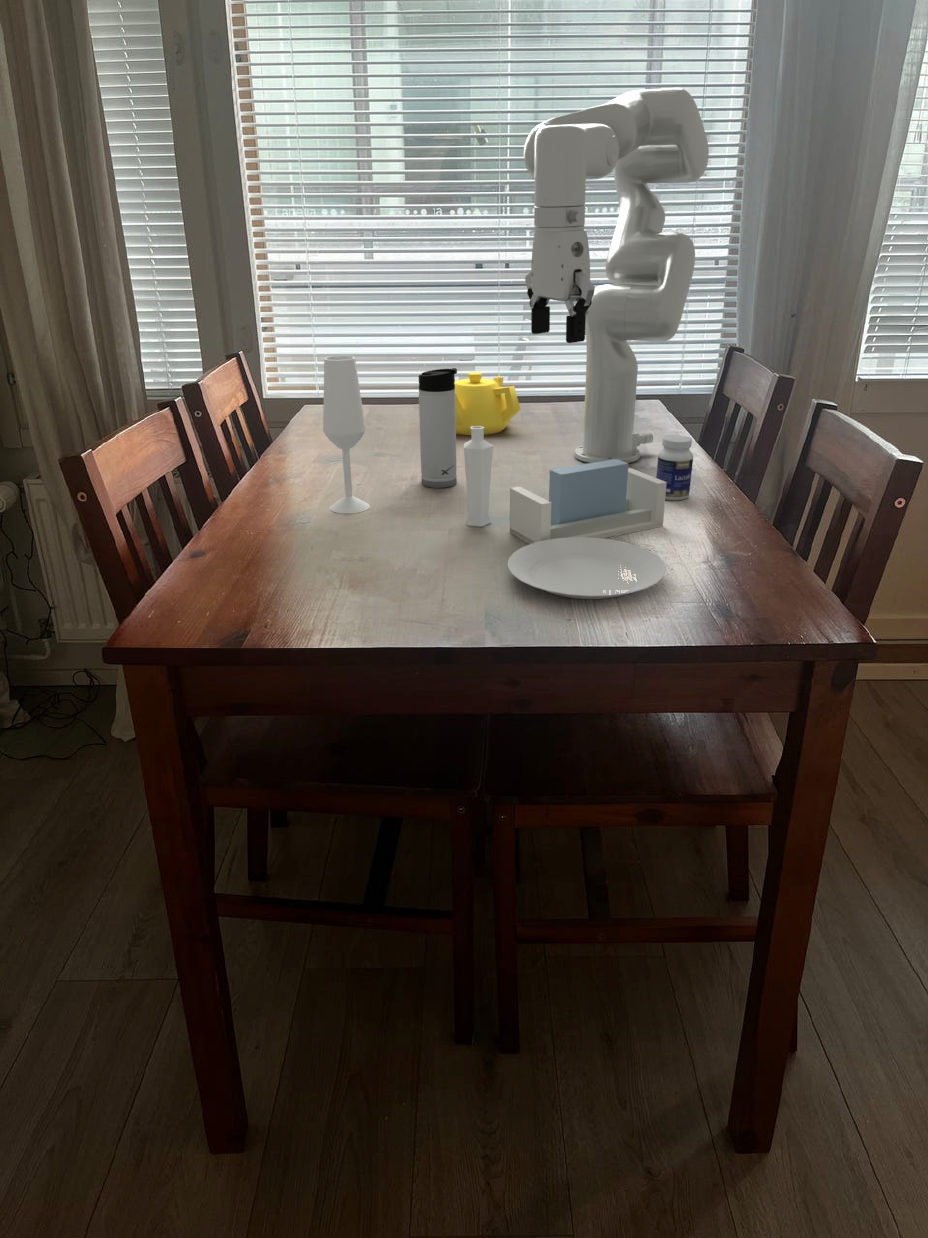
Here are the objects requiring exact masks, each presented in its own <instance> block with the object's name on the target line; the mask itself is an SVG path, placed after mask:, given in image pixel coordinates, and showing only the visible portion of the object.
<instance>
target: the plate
mask: <svg viewBox="0 0 928 1238" xmlns="http://www.w3.org/2000/svg"><path fill="white" fill-rule="evenodd" d="M620 565H621V566H620ZM620 567H621V568H620ZM625 567H626V568H625ZM507 568H508V570H509V572H510V574H511V575H512V576H513V577H514V578H516V579H517V580H518V581H520V582H522V583H524V584H525V585H526V584H527V585H528V586H531V587H533V588H536V589H540V590H542V591H544V592H545V591H546V592H547V593H550V594H553V595H556V596H560V597H565V598H569V599H570V598H572V599H580V600H581V599H582V600H601V599H602V600H603V599H610V598H611V599H612V598H618V597H621V596H624V595H625V596H626V595H627V594H628V595H629V594H632V593H637V592H640V591H643V590H646V589H648V588H650V587H653V586H655V585H656V584H659V582H660V581H662V579H664V578H665V575H666V572H667V567H666V564H665V562H664V560H663V559H662V558H661V557H660V556H659V555H657V554H655V553H654V552H653V551H650V550H648V549H647V548H644V547H642V546H639V545H635V544H633V543H629V542H624V541H621V540H617V539H616V540H615V539H611V538H610V539H608V538H589V537H569V538H557V539H549V540H544V541H540V542H535V543H532V544H527V545H524V546H522V547H521V548H519V549H517V550H514V552H513V553H511V555H510V557H509V558H508V561H507ZM620 569H622V573H625V572H623V571H624V569H626V570H631V575H632V577H635V576H634V575H633V574H636V579H637V582H636V581H635V580H634V579H633V578H632V580H633V581H630V580H629V579H628V583H629V584H628V583H627V581H625V580H624V579H622V577H621V576H620V575H621V573H620V572H621V570H620ZM618 571H619V572H618ZM627 573H628V571H627ZM618 574H619V575H618ZM627 576H628V574H627ZM623 577H624V575H623ZM625 577H626V576H625ZM618 578H619V579H618ZM623 580H624V581H623ZM603 590H606V594H605V593H603ZM609 590H611V595H609ZM615 590H620V594H619V592H617V591H616V594H615ZM621 590H629V591H627V592H625V593H621Z"/></svg>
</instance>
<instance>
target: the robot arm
mask: <svg viewBox="0 0 928 1238" xmlns="http://www.w3.org/2000/svg"><path fill="white" fill-rule="evenodd" d="M699 110H700V109H699V108H698V105H697V103H696V101H695V99H694V97H693V96H692V95H691V94H690V92H688V91H687V90H686V89H684V88H682V87H670V88H669V87H668V88H653V89H652V88H651V89H650V88H649V89H638V90H637V89H635V90H631V91H630V90H629V91H627V92H625V93H623V94H620V95H619V96H617V97H615V98H613V99H611V100H610V101H608V102H606V103H604V104H601V105H596V106H592V107H591V106H590V107H587V108H585V109H581V110H578V111H573V112H570V113H567V114H563V115H558V116H555V117H552V118H550V119H547V120H544V121H542V122H540V123H539V124H537V125H536V126H534V128H532V129H531V131H530V132H529V134H528V135H527V138H526V141H525V143H524V147H523V149H524V150H523V159H524V160H523V161H524V164H525V168H526V170H527V171H528V173H529V174H530V176H531V177H533V178H534V196H533V197H534V199H533V200H534V206H533V207H534V208H533V210H534V212H533V213H534V216H533V218H534V220H533V221H534V222H533V223H534V224H533V225H534V227H533V230H534V235H533V240H532V250H531V263H530V264H531V265H530V266H531V269H530V272H528V274H526V275H525V276H524V281H525V286H526V289H527V291H526V293H527V296H528V299H529V302H528V303H529V307H530V308H531V309H530V310H531V312H530V313H531V319H530V321H531V322H530V323H531V329H530V332H531V334H532V335H539V334H545V333H550V330H551V329H550V328H551V325H550V323H551V307H550V305H549V302H550V301H551V300H552V301H557V302H564V304H565V306H566V308H567V309H566V310H567V312H568V314H569V315H566V320H565V321H566V323H565V343H568V344H572V343H573V344H574V343H580V342H581V343H582V342H584V341H586V362H585V363H586V364H585V365H586V367H585V368H586V369H585V387H584V388H585V389H584V390H585V391H584V407H583V408H584V411H583V429H582V431H583V433H582V445H579V446H578V447H576V448H575V449H574V457H575V458H576V459H577V460H579V461H581V462H584V463H587V464H588V463H594V462H601V461H607V460H613V459H618V460H621V461H623V462H626V463H628V464H630V463H634V462H636V461H638V460H640V459H641V458H640V457H641V451H640V449H638V447H639V446H641V445H643V444H644V445H646V444H651V443H652V442H654V436H653V434H652V433H651V432H647V433H642V434H640V433H639V432H635V431H634V429H635V428H634V427H635V415H636V401H637V399H636V397H637V387H638V386H637V385H638V371H639V369H638V367H639V365H638V360H637V357H636V355H635V353H634V351H633V349H632V348H631V346H630V344H629V341H630V342H631V341H636V342H637V341H638V342H653V343H655V342H658V343H663V342H667V341H670V340H671V339H673V337H674V336H675V335H676V333H677V332H678V329H679V326H680V323H681V320H682V317H683V313H684V309H685V305H686V302H687V298H688V295H689V290H690V286H691V284H692V281H693V280H692V279H693V275H694V270H695V265H696V250H695V249H696V247H695V244H694V242H693V240H692V239H691V238H690V236H688V235H687V234H685V233H682V232H673V231H672V232H671V231H669V232H667V231H663V230H664V229H663V228H664V226H665V222H666V213H665V210H664V207H663V205H662V203H661V202H660V200H659V198H658V197H657V196H656V195H655V193H654V192H653V191H652V190H651V189H650V188H649V186H648V184H683V183H684V184H687V183H693V182H696V181H697V180H699V179H700V178H701V177H703V175H704V174H705V171H706V169H707V166H708V163H709V157H710V156H709V155H710V152H709V151H710V150H709V149H710V148H709V143H708V137H707V133H706V131H705V127H704V124H703V121H702V117H701V114H700V111H699ZM612 172H613V177H614V185H615V189H616V195H617V199H618V207H619V209H618V210H619V213H618V218H617V222H616V226H615V229H614V232H613V235H612V239H611V242H610V245H609V250H608V253H607V256H606V260H605V261H606V263H605V274H606V277H607V279H608V280H609V282H611V283H606V284H601V285H598V286H595V285H594V284H593V283H592V282H591V262H590V261H591V260H590V259H591V258H590V244H589V238H588V232H587V229H585V225H586V223H585V222H586V219H585V218H586V189H587V188H586V187H587V186H586V185H587V184H586V183H587V180H589V181H590V180H599V179H603V178H605V177H607V176H608V175H610V174H611V173H612ZM574 302H576V303H575V304H574Z"/></svg>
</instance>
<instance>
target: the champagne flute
mask: <svg viewBox="0 0 928 1238" xmlns="http://www.w3.org/2000/svg"><path fill="white" fill-rule="evenodd" d="M323 360H324V361H323V366H324V367H323V409H322V410H323V412H322V413H323V414H322V415H323V416H322V419H323V420H322V421H323V422H322V429H323V433H324V435H325V437H326V438H327V439H328V441H330V442H331V443H332V444H333V445H334V446H335V447H337V448H339V450H341V452H342V453H341V454H342V466H343V468H342V469H343V481H344V495H345V496H343V497H342V498H340V499H339V500H337V501H335V502H334V503H333V504H331V505H330V506H329V511H331V512H333V513H338V514H356V513H361V512H364V511H368V509H370V508H371V506H370V504H369V503H368V502H365V501H364V500H361V499H359V498H358V497H356V496H354V495H353V485H352V484H353V483H352V482H353V481H352V468H351V466H352V465H351V454H350V453H351V451H350V450H351V449H352V448H354V447H355V446H356V445H357V443H358V442H359V441H360V440H361V439H362V438H363V436H364V434H365V432H366V421H365V416H364V408H363V402H362V396H361V389H360V383H359V382H360V381H359V376H358V370H357V369H358V368H357V363H356V357H355V356H352V355H332V356H331V355H329V356H326V357H324V359H323Z"/></svg>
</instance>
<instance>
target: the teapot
mask: <svg viewBox="0 0 928 1238" xmlns="http://www.w3.org/2000/svg"><path fill="white" fill-rule="evenodd" d="M482 377H483V373H482V372H477V371H475V372H474V371H472V372H469V373H467V378H464V379H463V378H462V379H459V380H455V383H454V384H455V405H456V435H463V436H471V426H482V427H485V428H484V436H486V435H487V436H488V435H492V434H493V435H494V434H498V433H500V432H503V431H504V430H505V429H506V427H508V425H509V424H510V423H511V420H512V419H513V418H514V417H515V415H517V414H518V413H519V412H520V411H521V406H520V402H519V399H518V394H517V390H516V387H515V385H511V386H504V385H503V384H504V377H503V376H496V377H493V379H490V378H489V379H488V378H482ZM502 430H503V431H502Z"/></svg>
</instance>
